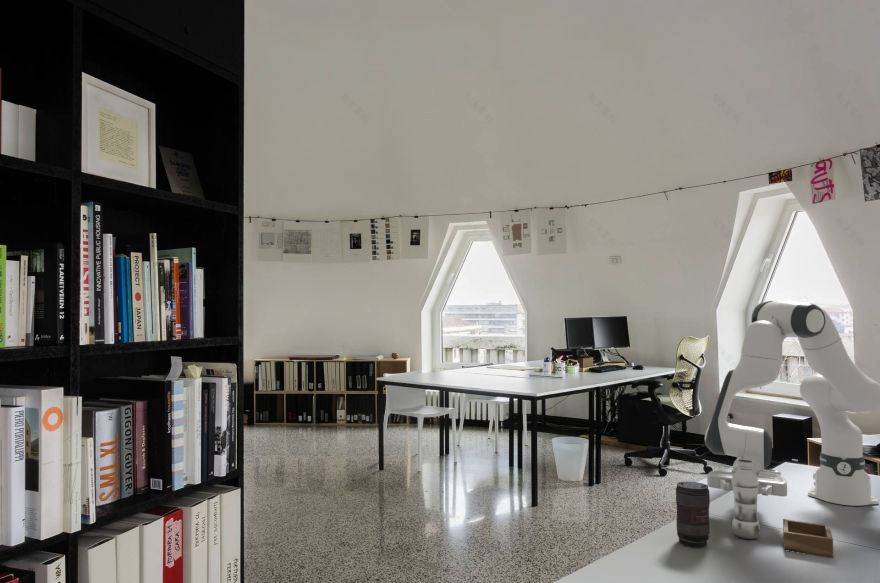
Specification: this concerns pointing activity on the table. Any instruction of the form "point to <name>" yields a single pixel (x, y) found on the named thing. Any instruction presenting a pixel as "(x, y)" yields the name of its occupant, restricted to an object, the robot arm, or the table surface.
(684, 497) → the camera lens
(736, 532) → the plastic bottle
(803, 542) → the open wooden box
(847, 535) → the table surface
